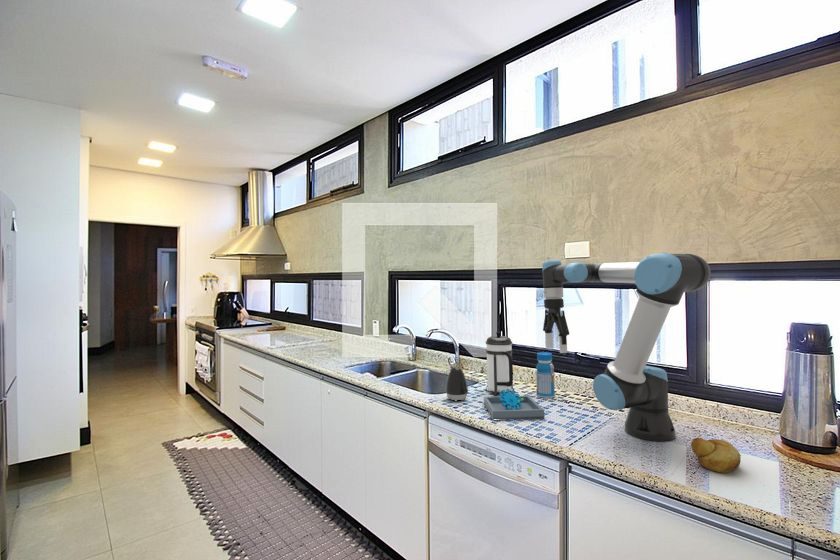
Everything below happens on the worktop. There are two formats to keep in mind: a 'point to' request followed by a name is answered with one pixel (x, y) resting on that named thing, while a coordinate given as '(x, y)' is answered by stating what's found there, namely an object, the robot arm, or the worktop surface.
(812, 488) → the worktop surface
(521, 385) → the worktop surface
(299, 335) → the worktop surface
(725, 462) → the bread roll
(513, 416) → the tray
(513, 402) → the gear
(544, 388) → the beverage bottle
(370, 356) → the worktop surface
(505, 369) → the coffee press
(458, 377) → the pump dispenser
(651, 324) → the robot arm
